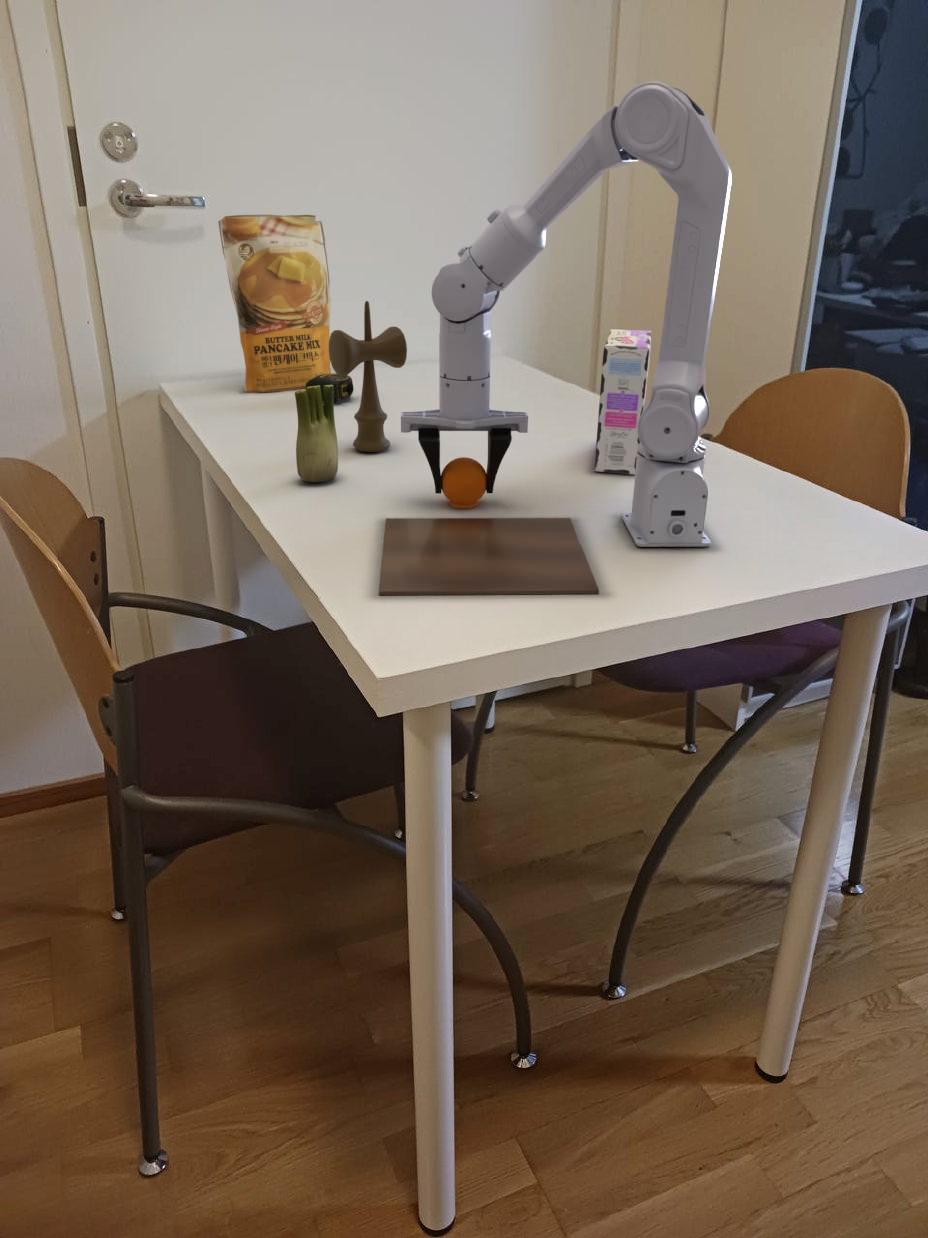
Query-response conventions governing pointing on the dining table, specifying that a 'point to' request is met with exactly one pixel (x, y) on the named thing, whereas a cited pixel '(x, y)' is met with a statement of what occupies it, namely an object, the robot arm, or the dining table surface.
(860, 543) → the dining table surface
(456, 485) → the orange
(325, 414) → the fennel bulb
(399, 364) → the kendama
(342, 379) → the tape measure
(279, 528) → the dining table surface
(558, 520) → the front mat
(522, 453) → the dining table surface
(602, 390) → the candy box
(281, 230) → the pancake mix bag
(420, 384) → the dining table surface
